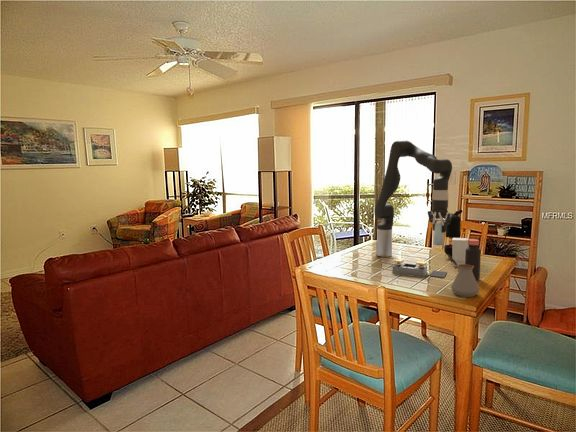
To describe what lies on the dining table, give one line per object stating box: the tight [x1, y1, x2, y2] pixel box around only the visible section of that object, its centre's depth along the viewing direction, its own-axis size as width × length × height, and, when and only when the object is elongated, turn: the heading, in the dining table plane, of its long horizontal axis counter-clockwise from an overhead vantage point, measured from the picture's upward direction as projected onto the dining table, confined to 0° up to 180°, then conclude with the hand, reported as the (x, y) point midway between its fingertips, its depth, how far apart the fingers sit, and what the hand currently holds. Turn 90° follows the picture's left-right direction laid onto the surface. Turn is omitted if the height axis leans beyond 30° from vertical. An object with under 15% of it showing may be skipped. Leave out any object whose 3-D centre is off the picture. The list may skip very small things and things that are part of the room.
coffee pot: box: [444, 253, 480, 298], centre depth 171 cm, size 21×12×15 cm, turn 7°
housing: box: [391, 261, 428, 278], centre depth 201 cm, size 16×10×4 cm, turn 60°
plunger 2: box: [415, 260, 428, 268], centre depth 197 cm, size 4×4×5 cm
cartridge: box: [433, 220, 445, 246], centre depth 193 cm, size 4×4×12 cm
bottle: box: [465, 238, 482, 282], centre depth 186 cm, size 7×7×20 cm
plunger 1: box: [393, 258, 404, 265], centre depth 203 cm, size 4×4×5 cm
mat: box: [429, 270, 448, 279], centre depth 196 cm, size 7×10×1 cm
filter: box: [443, 209, 463, 257], centre depth 226 cm, size 14×9×30 cm
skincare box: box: [451, 237, 469, 268], centre depth 211 cm, size 8×7×16 cm
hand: (439, 231), depth 193 cm, fingers closed on cartridge, 4 cm apart
